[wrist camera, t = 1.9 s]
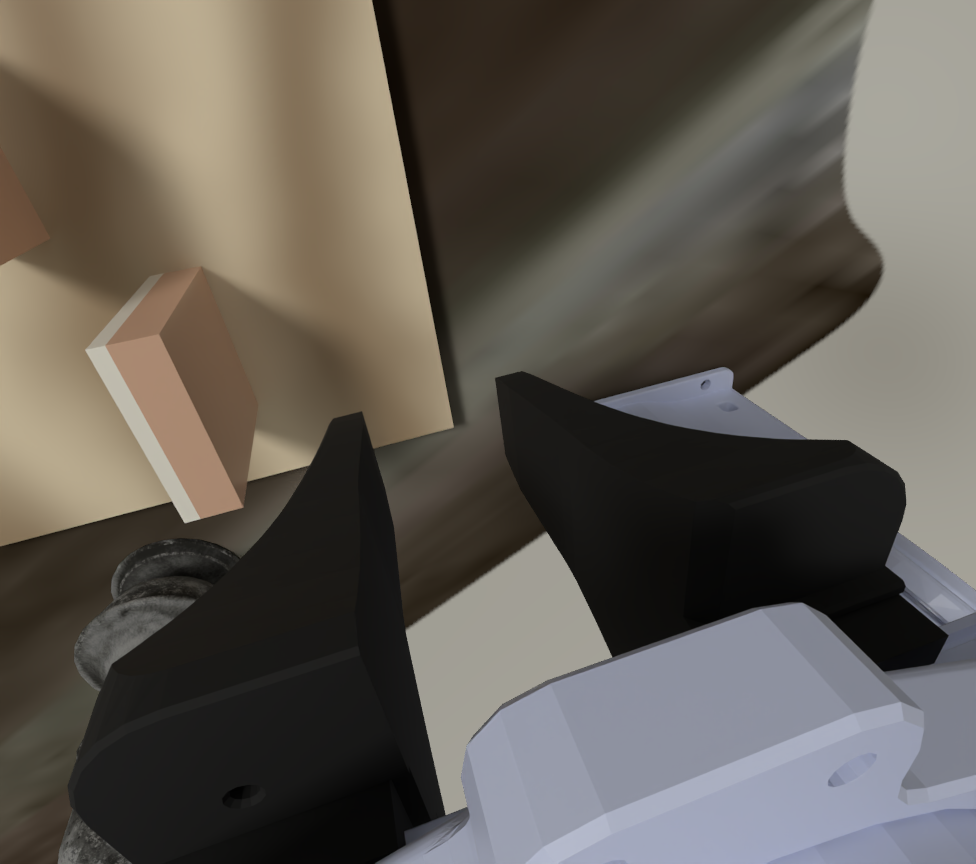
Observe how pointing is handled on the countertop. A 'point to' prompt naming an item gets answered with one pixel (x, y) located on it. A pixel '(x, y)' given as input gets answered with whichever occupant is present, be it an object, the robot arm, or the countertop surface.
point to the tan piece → (16, 216)
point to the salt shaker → (138, 638)
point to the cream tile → (182, 391)
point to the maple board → (204, 232)
